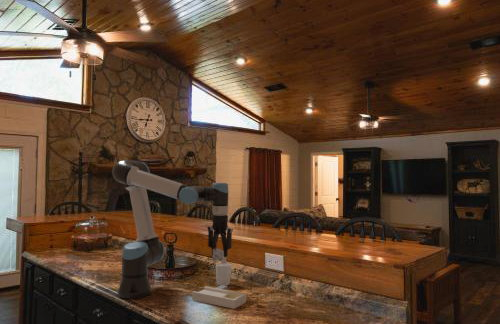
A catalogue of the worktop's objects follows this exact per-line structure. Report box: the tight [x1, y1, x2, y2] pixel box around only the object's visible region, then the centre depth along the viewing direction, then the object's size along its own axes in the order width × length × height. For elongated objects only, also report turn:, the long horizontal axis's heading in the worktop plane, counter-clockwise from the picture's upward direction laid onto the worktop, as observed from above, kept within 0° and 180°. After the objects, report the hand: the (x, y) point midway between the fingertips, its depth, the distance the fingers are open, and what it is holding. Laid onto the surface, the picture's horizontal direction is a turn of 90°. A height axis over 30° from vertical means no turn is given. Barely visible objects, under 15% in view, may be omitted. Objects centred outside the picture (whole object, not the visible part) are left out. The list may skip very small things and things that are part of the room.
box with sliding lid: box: [191, 286, 247, 309], centre depth 168 cm, size 22×10×4 cm, turn 60°
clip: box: [212, 248, 223, 262], centre depth 182 cm, size 4×4×4 cm
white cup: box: [215, 262, 232, 286], centre depth 195 cm, size 8×8×10 cm
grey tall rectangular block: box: [215, 285, 228, 290], centre depth 181 cm, size 4×8×2 cm, turn 150°
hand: (219, 262), depth 182 cm, fingers closed on clip, 4 cm apart
